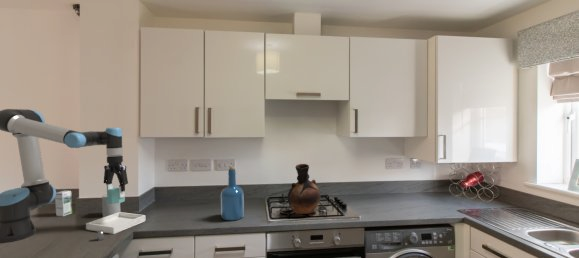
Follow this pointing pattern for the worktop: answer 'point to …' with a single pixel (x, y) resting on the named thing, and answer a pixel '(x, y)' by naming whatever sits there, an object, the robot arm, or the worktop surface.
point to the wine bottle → (232, 199)
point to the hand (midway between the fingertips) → (116, 196)
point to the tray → (115, 222)
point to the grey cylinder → (109, 207)
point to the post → (100, 235)
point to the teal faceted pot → (114, 196)
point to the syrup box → (63, 203)
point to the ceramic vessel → (303, 192)
